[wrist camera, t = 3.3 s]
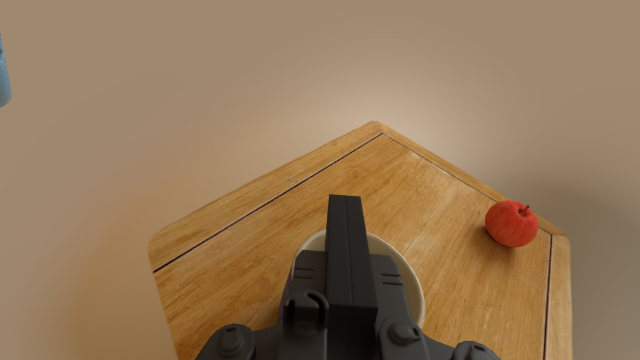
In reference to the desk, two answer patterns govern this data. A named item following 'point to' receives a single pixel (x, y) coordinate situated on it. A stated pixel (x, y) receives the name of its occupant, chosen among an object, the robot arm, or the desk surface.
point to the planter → (375, 247)
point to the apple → (511, 223)
